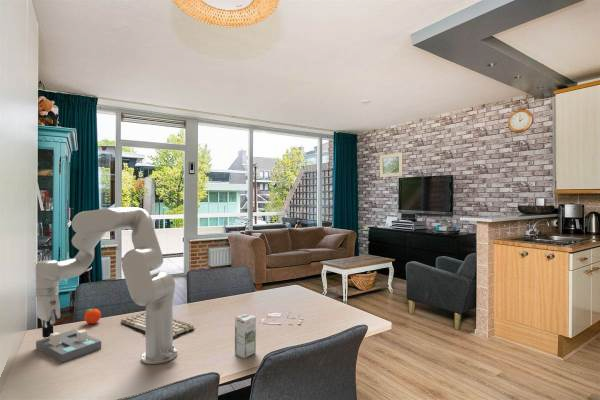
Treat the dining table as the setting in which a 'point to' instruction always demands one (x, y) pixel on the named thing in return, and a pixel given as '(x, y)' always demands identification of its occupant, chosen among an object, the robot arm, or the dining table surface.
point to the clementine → (92, 316)
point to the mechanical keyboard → (139, 325)
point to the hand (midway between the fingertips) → (47, 336)
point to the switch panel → (68, 346)
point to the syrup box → (245, 335)
